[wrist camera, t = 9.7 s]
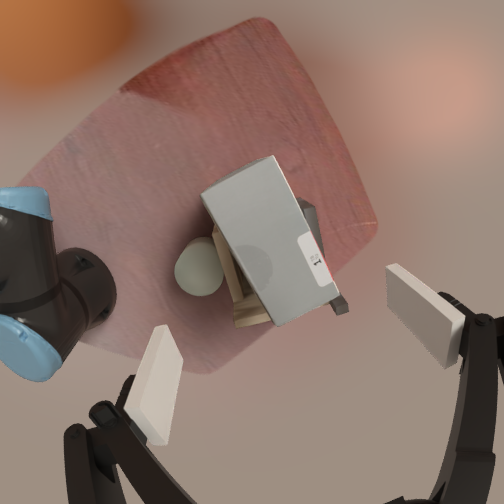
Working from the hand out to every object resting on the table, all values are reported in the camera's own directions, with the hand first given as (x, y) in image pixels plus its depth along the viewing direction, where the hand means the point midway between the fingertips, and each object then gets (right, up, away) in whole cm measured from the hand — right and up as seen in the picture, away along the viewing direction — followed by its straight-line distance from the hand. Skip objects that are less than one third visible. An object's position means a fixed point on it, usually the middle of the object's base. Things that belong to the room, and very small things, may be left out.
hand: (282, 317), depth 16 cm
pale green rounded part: (-9, +3, +31) cm, 33 cm away
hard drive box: (-1, +10, +30) cm, 31 cm away
